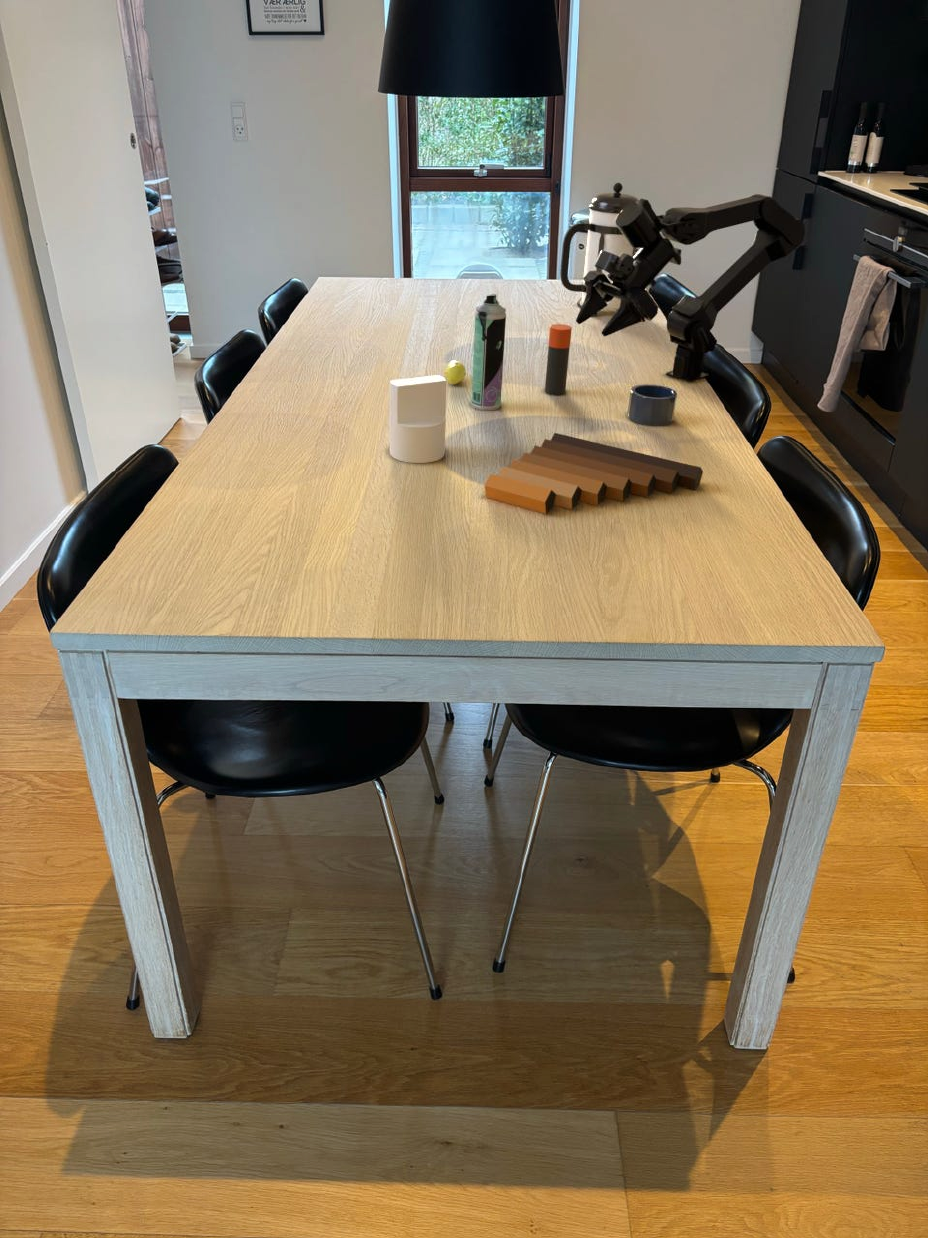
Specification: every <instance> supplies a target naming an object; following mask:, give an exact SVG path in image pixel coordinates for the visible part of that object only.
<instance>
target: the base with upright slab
mask: <svg viewBox="0 0 928 1238" xmlns="http://www.w3.org/2000/svg"><path fill="white" fill-rule="evenodd" d="M446 405H447V378H446V377H443V376H441V375H439V374H435V375H427V376H419V377H411V378H401V379H392V380H389V455H390V456H391V458H394V459H395V460H398V461H401V462H405V463H411V464H426V463H432V462H436V461H439V460H441V459H442V458H443V457H444V456H445V454H446V422H447V421H446V419H447V418H446V412H447V411H446V409H447V406H446Z"/></svg>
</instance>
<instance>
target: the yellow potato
mask: <svg viewBox="0 0 928 1238" xmlns="http://www.w3.org/2000/svg"><path fill="white" fill-rule="evenodd" d="M445 367H446V368H445V372H444V374H445V379H446V381H447V382H448V383H449V384H451V385H457V384H460V383H461V382H462V381H463V379H464V378H465V377H466V375H467V370H466V367H465V365H464V364H463V362H461V361H459V360H451V361H450V362H448V363H447V365H446V366H445Z"/></svg>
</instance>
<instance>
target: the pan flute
mask: <svg viewBox="0 0 928 1238" xmlns="http://www.w3.org/2000/svg"><path fill="white" fill-rule="evenodd" d="M703 473H704V471H703V469H702V467H701V466H697V465H692V464H688V463H684V462H680V461H676V460H671V459H667V458H662V457H659V456H654V455H651V454H650V455H649V454H646V453H642V452H637V451H633V450H629V449H625V448H621V447H617V446H613V445H607V444H605V443H600V442H595V441H591V440H587V439H583V438H578V437H574V436H570V435H566V434H561V433H557V432H554V433H553V436H552V437H551V438H550V439H546V438H544V440H543V442H542V444H541V446H539V445H534V446H533V448H532V450H531V452H530V453H529V452H527V451H525V452H523V454H522V455H521V458H520V460H518V459H515V458H514V459H512V461H511V463H510V465H509V466H508V467H506V466H501V468H500V470H499V471H498V474H494V473H490V474H489V476H488V478H487V480H486V482H485V483H484V493H485V498H487V499H490V500H494V501H498V502H502V503H505V504H509V505H513V506H516V507H520V508H523V509H526V510H531V511H533V512H538V513H541V514H545V515H546V514H548V513H549V512H551V511H552V510H553V509H554V506H557V507H560V508H564V509H568V510H571V511H572V510H574V509H575V508H576V507H578V506H579V504H580V502H583V503H586V504H589V505H593V506H597V507H598V506H600V505H601V504H602V503H603V502H604V501H605V498H606V499H607V498H608V499H611V500H614V501H619V502H624V501H626V499H628V498H629V496H630V495H635V496H639V497H642V498H647V499H648V498H649V497H650V496H651V495H652V494H653V493H654V491H659V492H662V493H665V494H670V495H672V494H673V493H674V492H675V491H676V490H677V488H678V487H680V488H684V489H689V490H692V491H696V490H697V489H698V488H699V487H700V485H701V482H702V479H703Z"/></svg>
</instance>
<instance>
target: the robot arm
mask: <svg viewBox="0 0 928 1238" xmlns="http://www.w3.org/2000/svg"><path fill="white" fill-rule="evenodd" d="M638 200H639V201H638V202H637V203H634V204H632V205H630V206H628V207H627V208H626V209H623V210H622V211H621V212H620V213H619V215H618V216H617V218H616V225H617V226H618V228H619V229H620V231H621V232H622V234H623V235H624V236H625V238H626V239H627V241H628V242H629V244H630V245H631V246H632V247H633V248H636V249H639V248H640V249H639V250H638V251H637V252H635V256H634V257H632V256H630V255H628V254H625V253H623V254H622V255H620V256H617V255H614V254H612V253H610V252H607V251H604V250H602V251H601V253H600V255H599V257H598V259H597V261H596V263H595V265H594V266H595V267H597V268H601V269H602V270H604V271H606V272H608V273H609V274H608V275H607V276H608V278H609V279H610V280H612V282H613V283H612V284H611V282H610V281H609V280H608V278H607V277H606V276H605V274H603V273H600V272H598V271H589V272H588V273H587V274H586V276H585V277H584V276H583V278H582V279H583V280H584V281H585V284H584V285H585V287H586V297H585V300H584V303H583V302H582V305H581V306H582V307H580V310H579V312H578V314H577V315H576V316H577V317H576V318H575V322H576V323H577V325H581V324H583V323H585V322H586V321H588V320H589V319H590V318H591V317H594V316H593V315H595V314H596V313H597V312H598V313H599V312H600V311H602V310H603V308H605V307H606V306H607V302H609V301H611V300H612V299H613V298H614V297H616V298H618V299H620V300H621V302H620V307H619V309H617V310H616V311H615V313H614V315H612V317H611V318H610V320H609V321H608V322H607V323H606V325H605V326H604V328H603V329H602V330H601V335H602V336H603V337H608V336H610V335H612V334H614V333H617V332H619V331H621V330H624V329H626V328H628V327H632V326H634V325H638V324H641V323H645V322H646V320H647V321H649V322H652V320H653V319H654V318H655V317H656V316H657V315H658V313H659V305H658V304H657V303H656V301H655V299H654V298H653V297H652V295H651V294H650V292H649V291H648V290H647V288H648V287H649V286H650V287H652V288H653V287H655V285H656V284H657V281H656V280H655V279H656V278H657V276H658V275H659V274H660V273H661V272H662V271H663V270H664V269H665V267H666V266H667V265H668V264H669V263H671V264H674V265H677V266H680V265H682V249H681V248H677V247H675V246H674V244H673V243H672V242H676V243H678V244H681V245H684V246H690V245H693V244H695V243H698V242H699V241H702V240H703V239H705V238H706V237H707V236H708V235H709V234H710V233H713V232H715V231H718V230H721V229H726V228H730V227H734V226H737V225H741V224H742V225H743V224H745V223H750V222H753V224H754V226H755V227H756V228H757V231H756V233H755V236H754V240H753V242H752V245H751V246H750V247H749V248H748V249H747V250H746V251H745V252H744V253H743V254H742V255H741V256H740V257H739V258H738V259H736V261H735V262H733V264H732V265H730V266H729V268H727V269H726V270H725V271H724V272H723V273H722V274H721V275H719V277H718V278H717V279H716V280H715V281H714V282H713V283H712V284H711V285H710V286H709V287H708V288H707V289H706V290H705V291H704V292H703V293H702V294H700V295H699V296H697V297H695V296H692V295H689V294H686V295H684V296H683V297H682V298H681V300H680V301H679V302H678V303H677V304H675V305H674V306H672V307H671V310H672V311H670V313H669V314H668V315H667V317H666V330H667V333H668V334H669V340H670V343H673V344H675V345H677V346H676V347H675V348H676V349H675V355H674V359H673V360H674V361H673V366H672V370H670V371H667V372H665V376H668V377H670V378H675V379H678V380H681V381H684V382H688V383H694V382H697V381H700V380H703V379H706V378H708V377H709V373H705V372H703V368H704V362H705V357H706V354H708V353H709V352H714V350H715V349H716V346H717V343H718V340H717V339H716V337H715V335H713V333H712V332H711V330H712V329H713V328H714V326H715V323H716V320H717V316H718V314H719V313H720V312H721V310H723V308H725V306H727V305H728V304H729V303H730V302H731V301H732V300H733V299H734V298H735V297H736V296H737V295H738V294H739V293H740V292H741V291H742V290H743V289H745V287H746V286H747V285H749V283H750V282H751V281H753V279H755V278H756V277H757V276H758V275H759V274H760V273H761V272H762V271H763V270H764V269H765V268H766V267H767V266H768V265H769V264H771V263H772V262H774V261H778V260H780V259H782V258H786V257H787V256H788V255H789V256H790V254H791V253H794V251H796V250H797V249H799V247H800V246H801V245H802V244H803V243H804V241H805V235H806V226H805V224H804V222H803V221H802V220H801V219H798V218H795V216H794V215H793V214H791V213H790V212H788V211H787V210H786V209H785V208H784V207H782V206H781V205H780V204H779V203H778V202H777V201H776V199H774V197H772V196H768V195H764V194H760V193H755V194H752V195H750V196H749V197H744V198H740V199H735V200H732V201H728V202H723V203H720V204H716V205H715V204H714V205H712V206H707V207H690V206H689V207H688V206H687V207H683V206H681V207H671V208H669V209H667V210H666V211H665V213H664V214H659V215H657V214H656V213H655V211H654V209H653V208H652V205H651V203H650V202H649V199H645V198H640V199H638ZM671 241H672V242H671ZM598 313H597V314H598Z"/></svg>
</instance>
